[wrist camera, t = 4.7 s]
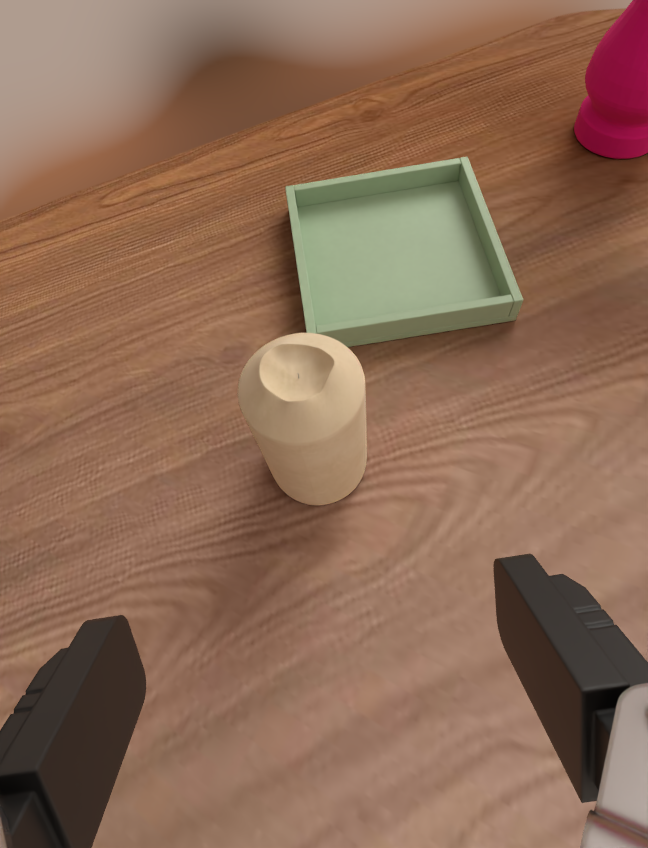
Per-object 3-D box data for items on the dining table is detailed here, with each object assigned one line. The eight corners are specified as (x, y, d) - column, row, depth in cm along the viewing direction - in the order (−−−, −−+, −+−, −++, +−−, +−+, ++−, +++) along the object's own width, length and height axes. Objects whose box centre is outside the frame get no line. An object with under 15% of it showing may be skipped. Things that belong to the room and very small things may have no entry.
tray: (310, 353, 33) (306, 334, 31) (289, 208, 39) (285, 186, 37) (515, 320, 33) (524, 299, 31) (463, 180, 39) (467, 156, 37)
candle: (365, 416, 31) (362, 308, 22) (368, 505, 29) (366, 425, 20) (273, 419, 31) (234, 315, 22) (269, 507, 29) (222, 430, 20)
